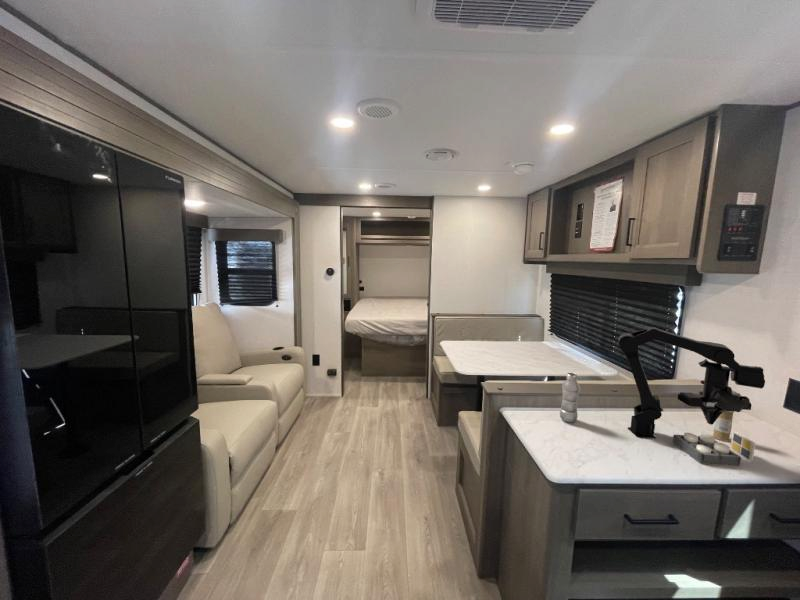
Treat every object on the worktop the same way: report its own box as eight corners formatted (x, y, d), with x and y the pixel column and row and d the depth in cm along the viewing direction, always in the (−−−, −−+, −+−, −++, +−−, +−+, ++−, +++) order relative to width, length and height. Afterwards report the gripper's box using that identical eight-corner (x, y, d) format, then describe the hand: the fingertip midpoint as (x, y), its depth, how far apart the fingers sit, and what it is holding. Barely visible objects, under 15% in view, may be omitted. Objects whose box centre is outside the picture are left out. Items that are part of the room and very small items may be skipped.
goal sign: (749, 462, 102) (753, 443, 101) (729, 449, 109) (732, 431, 108) (752, 462, 102) (755, 443, 101) (731, 449, 109) (734, 431, 108)
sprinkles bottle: (730, 439, 116) (736, 405, 114) (727, 443, 113) (733, 408, 111) (713, 433, 119) (718, 400, 118) (710, 437, 117) (715, 403, 115)
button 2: (701, 457, 103) (702, 450, 102) (692, 450, 106) (693, 444, 106) (713, 458, 102) (714, 451, 102) (704, 451, 106) (705, 445, 106)
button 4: (720, 455, 102) (721, 448, 102) (710, 448, 106) (711, 442, 105) (732, 455, 102) (733, 449, 101) (721, 449, 105) (722, 442, 105)
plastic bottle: (555, 417, 130) (559, 372, 128) (568, 415, 132) (571, 370, 130) (568, 425, 124) (571, 378, 122) (581, 423, 126) (585, 376, 124)
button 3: (705, 445, 107) (706, 438, 107) (696, 439, 111) (697, 433, 111) (717, 446, 107) (718, 439, 107) (707, 440, 111) (708, 433, 110)
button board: (700, 463, 102) (701, 454, 101) (672, 442, 113) (673, 434, 113) (739, 466, 100) (741, 457, 100) (707, 444, 112) (708, 436, 112)
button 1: (688, 444, 108) (689, 437, 108) (680, 438, 111) (681, 432, 111) (700, 445, 108) (701, 438, 107) (691, 439, 111) (692, 432, 111)
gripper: (705, 389, 99) (699, 434, 101) (772, 392, 96) (764, 439, 98) (679, 376, 110) (673, 417, 112) (738, 379, 107) (732, 421, 109)
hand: (710, 423), depth 107 cm, fingers closed
